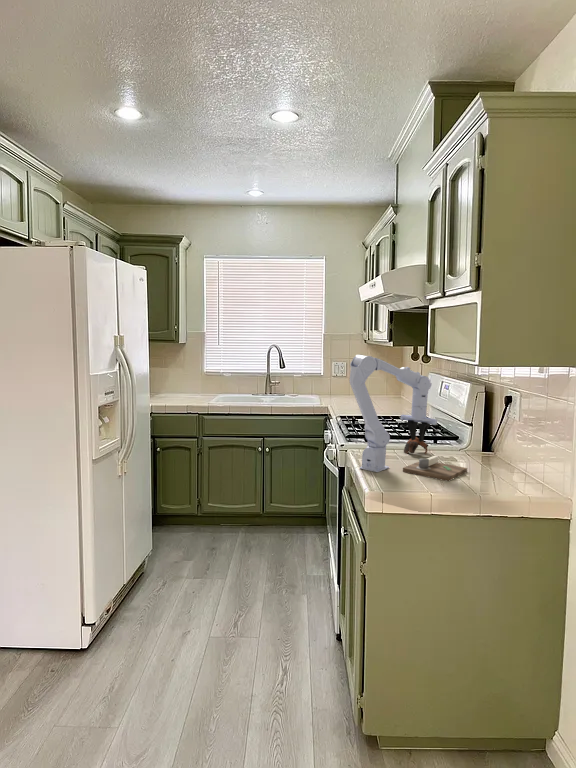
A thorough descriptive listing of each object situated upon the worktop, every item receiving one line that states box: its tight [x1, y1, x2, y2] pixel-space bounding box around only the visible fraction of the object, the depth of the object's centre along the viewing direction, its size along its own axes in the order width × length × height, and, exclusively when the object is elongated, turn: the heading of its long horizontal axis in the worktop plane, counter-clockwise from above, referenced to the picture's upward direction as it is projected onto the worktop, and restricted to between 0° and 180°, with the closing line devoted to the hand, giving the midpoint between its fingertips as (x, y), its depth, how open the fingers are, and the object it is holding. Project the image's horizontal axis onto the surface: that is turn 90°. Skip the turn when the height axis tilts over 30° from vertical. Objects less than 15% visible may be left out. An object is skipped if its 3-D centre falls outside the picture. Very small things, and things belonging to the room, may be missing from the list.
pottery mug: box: [403, 436, 429, 455], centre depth 246 cm, size 12×10×8 cm
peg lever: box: [418, 455, 439, 468], centre depth 218 cm, size 13×4×3 cm, turn 142°
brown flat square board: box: [402, 461, 468, 482], centre depth 216 cm, size 18×18×2 cm
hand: (417, 440), depth 222 cm, fingers open, 3 cm apart
